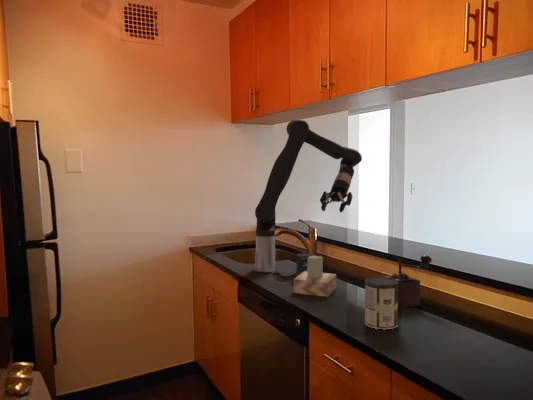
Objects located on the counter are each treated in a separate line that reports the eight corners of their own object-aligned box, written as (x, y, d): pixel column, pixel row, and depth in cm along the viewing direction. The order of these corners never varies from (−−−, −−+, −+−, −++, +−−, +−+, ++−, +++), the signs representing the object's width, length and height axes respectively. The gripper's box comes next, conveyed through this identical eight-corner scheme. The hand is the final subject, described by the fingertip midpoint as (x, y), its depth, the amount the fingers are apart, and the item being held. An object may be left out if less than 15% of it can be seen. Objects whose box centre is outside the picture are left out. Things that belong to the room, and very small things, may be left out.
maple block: (293, 293, 166) (293, 279, 166) (304, 284, 179) (304, 271, 179) (327, 297, 161) (328, 282, 161) (336, 288, 174) (336, 274, 174)
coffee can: (379, 316, 140) (380, 275, 139) (404, 326, 131) (405, 282, 130) (357, 322, 134) (357, 279, 133) (381, 333, 126) (382, 287, 125)
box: (298, 279, 186) (298, 256, 185) (296, 276, 192) (296, 253, 191) (315, 279, 187) (315, 255, 187) (312, 275, 193) (312, 253, 192)
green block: (307, 276, 170) (307, 257, 169) (313, 274, 173) (313, 255, 173) (316, 278, 167) (317, 258, 166) (322, 276, 170) (322, 256, 170)
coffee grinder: (398, 310, 146) (399, 259, 145) (378, 300, 156) (379, 253, 155) (433, 304, 152) (434, 256, 150) (412, 296, 162) (413, 250, 160)
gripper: (325, 178, 197) (314, 204, 189) (354, 178, 190) (344, 205, 181) (330, 189, 202) (319, 215, 194) (358, 190, 195) (348, 216, 186)
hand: (331, 210), depth 187 cm, fingers open, 8 cm apart
